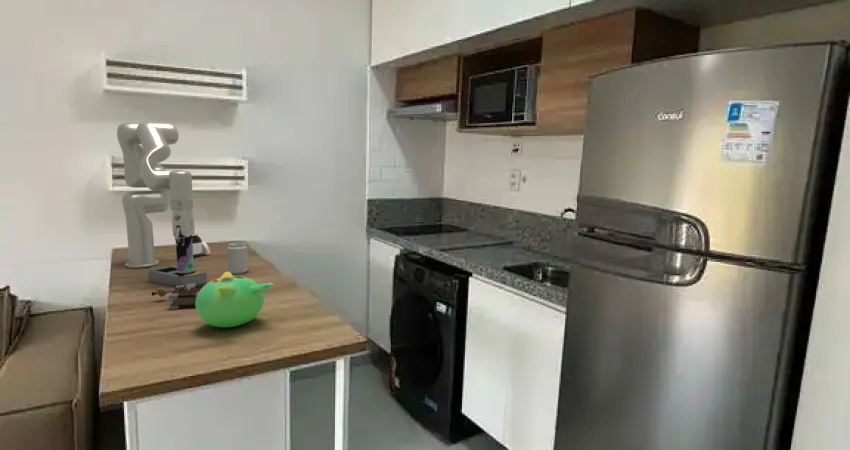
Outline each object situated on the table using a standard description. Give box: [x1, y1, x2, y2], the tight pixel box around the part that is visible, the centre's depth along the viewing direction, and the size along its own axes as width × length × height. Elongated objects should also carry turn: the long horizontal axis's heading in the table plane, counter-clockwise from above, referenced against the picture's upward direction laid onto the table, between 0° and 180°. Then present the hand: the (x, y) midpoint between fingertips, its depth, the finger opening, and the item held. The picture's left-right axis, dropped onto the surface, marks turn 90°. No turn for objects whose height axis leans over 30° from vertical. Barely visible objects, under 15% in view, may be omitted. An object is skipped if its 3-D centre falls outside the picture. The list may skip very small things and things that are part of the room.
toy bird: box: [195, 271, 275, 328], centre depth 137 cm, size 18×17×15 cm
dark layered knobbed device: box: [151, 283, 207, 310], centre depth 159 cm, size 15×25×5 cm, turn 107°
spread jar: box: [192, 230, 211, 259], centre depth 230 cm, size 12×11×12 cm
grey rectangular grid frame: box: [147, 265, 208, 288], centre depth 183 cm, size 20×10×4 cm, turn 61°
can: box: [226, 242, 249, 275], centre depth 199 cm, size 8×8×12 cm
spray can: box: [175, 226, 195, 273], centre depth 179 cm, size 6×6×20 cm
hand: (184, 254), depth 180 cm, fingers closed on spray can, 5 cm apart
